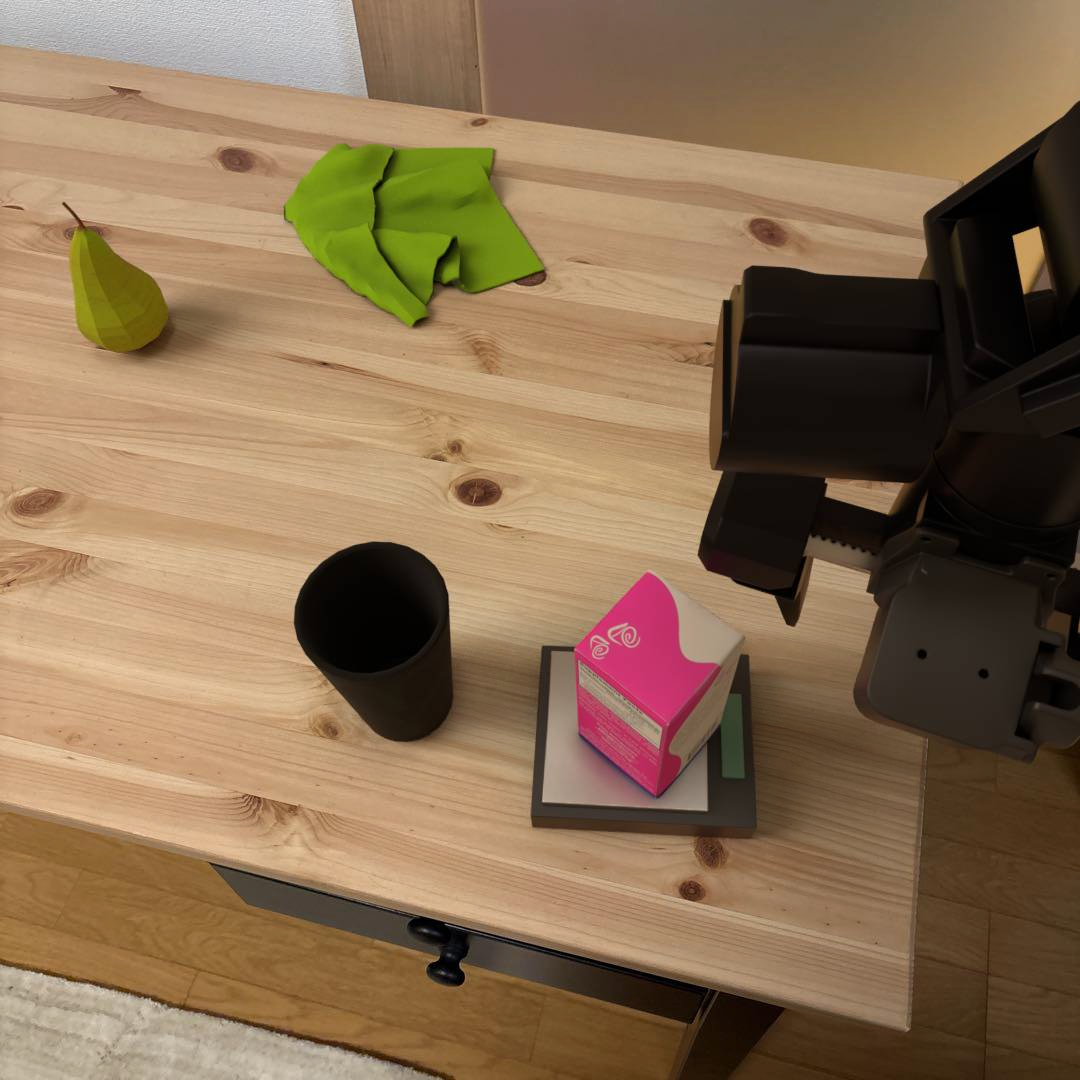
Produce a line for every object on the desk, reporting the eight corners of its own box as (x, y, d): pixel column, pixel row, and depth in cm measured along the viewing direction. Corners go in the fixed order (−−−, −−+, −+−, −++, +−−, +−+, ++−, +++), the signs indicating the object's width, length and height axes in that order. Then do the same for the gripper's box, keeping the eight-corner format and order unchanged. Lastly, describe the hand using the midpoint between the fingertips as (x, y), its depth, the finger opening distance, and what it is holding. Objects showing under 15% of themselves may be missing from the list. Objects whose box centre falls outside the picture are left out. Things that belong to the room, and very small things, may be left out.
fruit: (142, 380, 73) (71, 256, 62) (76, 352, 74) (-4, 226, 64) (196, 320, 75) (136, 192, 65) (131, 294, 77) (62, 165, 67)
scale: (743, 670, 60) (750, 649, 57) (750, 839, 55) (759, 825, 52) (542, 661, 61) (541, 640, 58) (532, 827, 56) (529, 813, 53)
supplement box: (639, 659, 57) (652, 562, 47) (722, 725, 55) (755, 638, 45) (571, 732, 55) (571, 646, 45) (656, 803, 53) (675, 730, 43)
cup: (495, 675, 60) (478, 582, 50) (424, 783, 57) (390, 708, 47) (390, 617, 62) (353, 517, 52) (316, 719, 59) (261, 633, 49)
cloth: (314, 135, 86) (308, 111, 84) (568, 155, 83) (567, 130, 81) (243, 313, 76) (234, 290, 73) (530, 340, 73) (528, 317, 71)
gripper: (674, 570, 31) (643, 738, 44) (1335, 779, 27) (1082, 893, 41) (765, 315, 36) (713, 535, 50) (1332, 460, 32) (1109, 655, 46)
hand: (890, 648), depth 46 cm, fingers open, 9 cm apart
